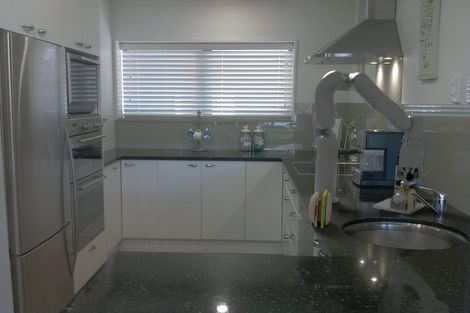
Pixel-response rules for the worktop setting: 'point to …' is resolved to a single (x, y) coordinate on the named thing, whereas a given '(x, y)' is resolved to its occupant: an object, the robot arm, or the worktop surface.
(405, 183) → the lever
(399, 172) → the spray can
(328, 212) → the hamburger
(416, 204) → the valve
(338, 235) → the worktop surface
